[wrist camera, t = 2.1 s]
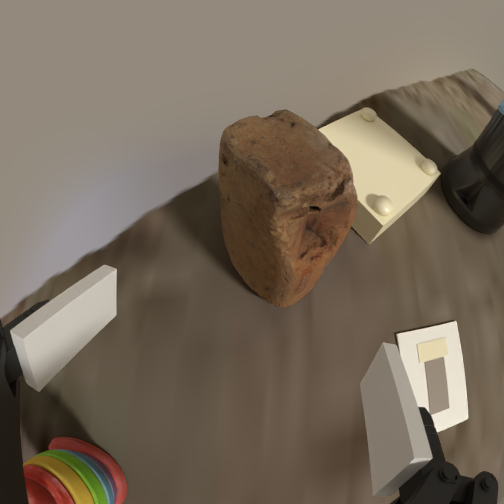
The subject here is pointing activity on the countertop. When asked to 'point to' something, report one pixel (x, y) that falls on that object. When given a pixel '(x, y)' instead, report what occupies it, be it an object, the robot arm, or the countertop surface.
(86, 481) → the stacking bear
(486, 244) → the countertop surface
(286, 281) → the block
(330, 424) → the countertop surface
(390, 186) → the cream knobbed square piece
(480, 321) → the countertop surface
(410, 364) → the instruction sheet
